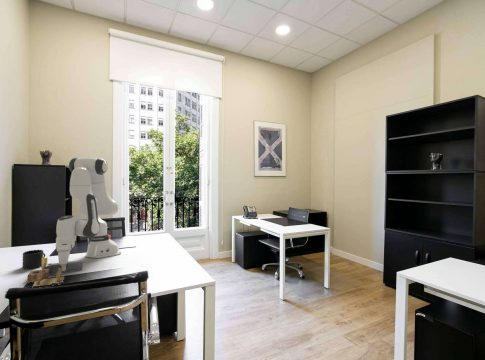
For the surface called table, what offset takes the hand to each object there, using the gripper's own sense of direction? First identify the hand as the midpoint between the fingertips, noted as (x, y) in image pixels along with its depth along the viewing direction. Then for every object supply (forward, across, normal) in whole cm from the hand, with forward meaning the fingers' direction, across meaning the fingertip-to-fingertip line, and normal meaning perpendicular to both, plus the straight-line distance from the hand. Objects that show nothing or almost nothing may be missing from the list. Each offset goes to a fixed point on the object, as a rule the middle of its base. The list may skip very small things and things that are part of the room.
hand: (64, 268), depth 144 cm
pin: (+2, -6, -10) cm, 12 cm away
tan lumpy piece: (+2, +7, -11) cm, 13 cm away
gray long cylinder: (+2, 0, 0) cm, 2 cm away
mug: (+2, -18, -16) cm, 24 cm away
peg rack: (+2, +16, -5) cm, 17 cm away
